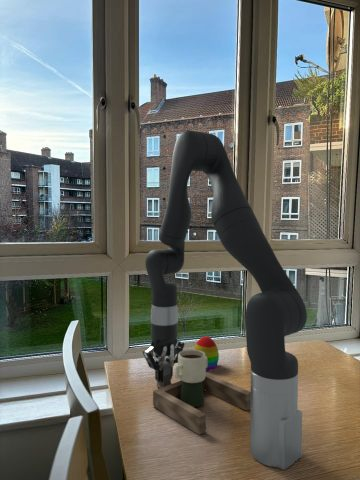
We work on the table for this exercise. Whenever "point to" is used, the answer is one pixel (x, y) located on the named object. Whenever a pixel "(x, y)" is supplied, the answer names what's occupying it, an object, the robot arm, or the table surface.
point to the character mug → (191, 376)
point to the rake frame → (186, 414)
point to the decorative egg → (208, 351)
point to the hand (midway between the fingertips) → (164, 380)
